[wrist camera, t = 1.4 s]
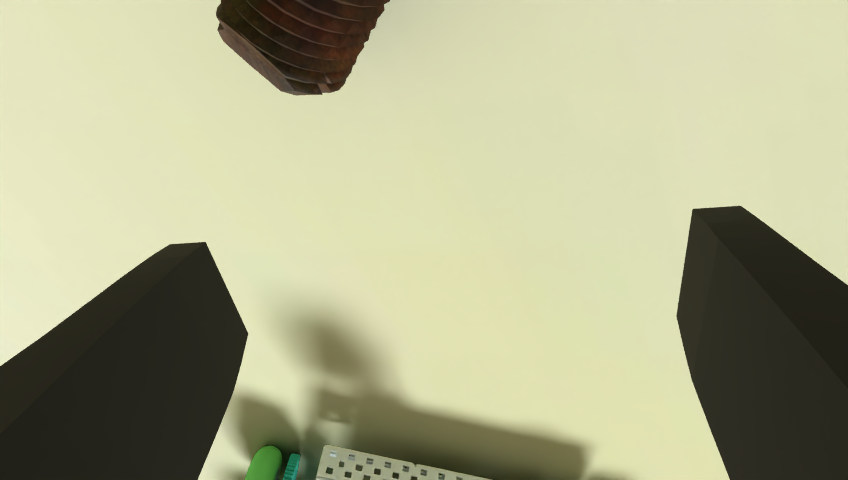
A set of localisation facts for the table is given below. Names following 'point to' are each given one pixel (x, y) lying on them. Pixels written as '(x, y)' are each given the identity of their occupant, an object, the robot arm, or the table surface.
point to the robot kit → (346, 467)
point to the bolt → (299, 39)
